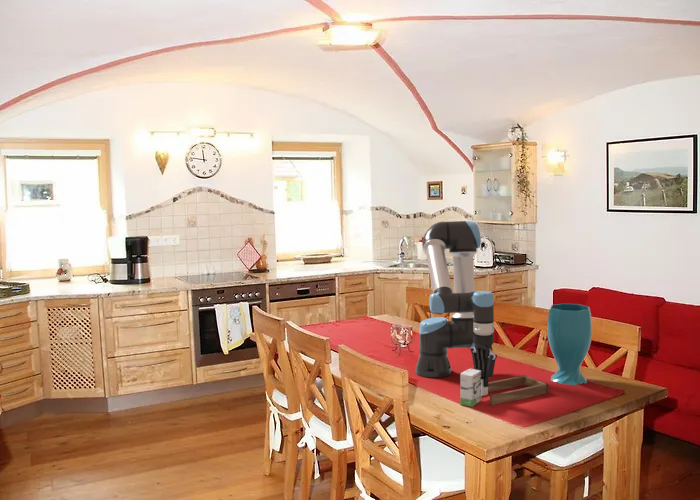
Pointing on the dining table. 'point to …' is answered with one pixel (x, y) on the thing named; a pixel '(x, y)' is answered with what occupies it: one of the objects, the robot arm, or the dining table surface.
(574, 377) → the vase
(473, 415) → the dining table surface
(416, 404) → the dining table surface
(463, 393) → the ink box
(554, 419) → the dining table surface
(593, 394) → the dining table surface
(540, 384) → the walnut frame
